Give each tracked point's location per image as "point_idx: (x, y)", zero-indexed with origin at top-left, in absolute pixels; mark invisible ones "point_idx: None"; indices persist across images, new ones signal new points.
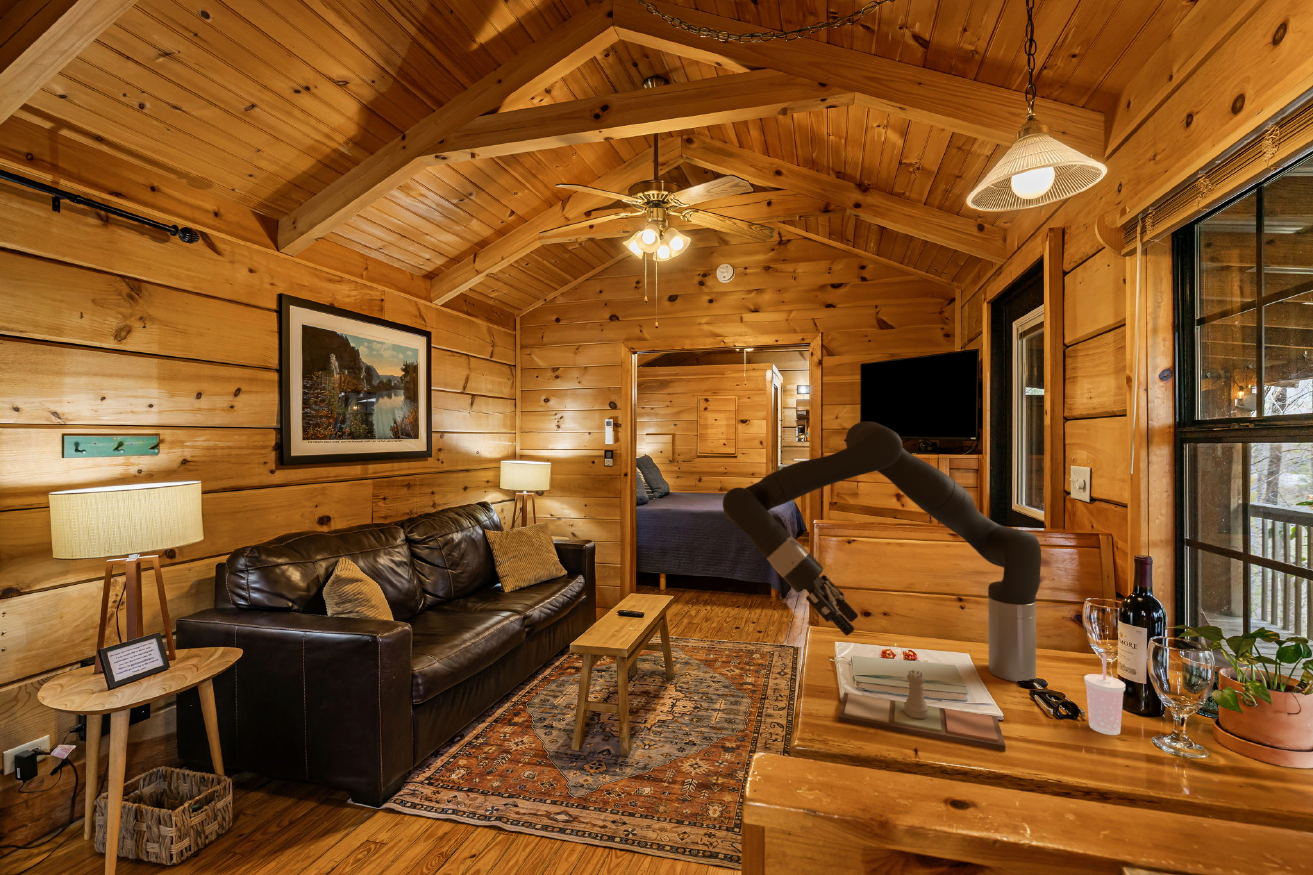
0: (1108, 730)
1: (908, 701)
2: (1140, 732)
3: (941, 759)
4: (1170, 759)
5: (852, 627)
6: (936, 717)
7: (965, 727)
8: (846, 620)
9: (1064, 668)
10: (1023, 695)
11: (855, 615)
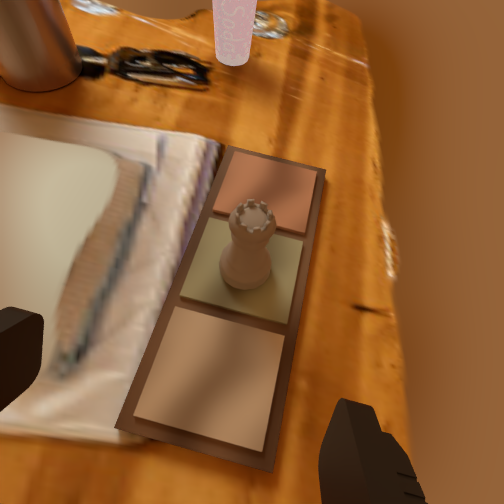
0: (248, 54)
1: (252, 271)
2: None
3: (378, 273)
4: (296, 42)
5: (371, 417)
6: None
7: (285, 201)
8: (397, 480)
9: None
10: (130, 87)
11: (30, 330)
